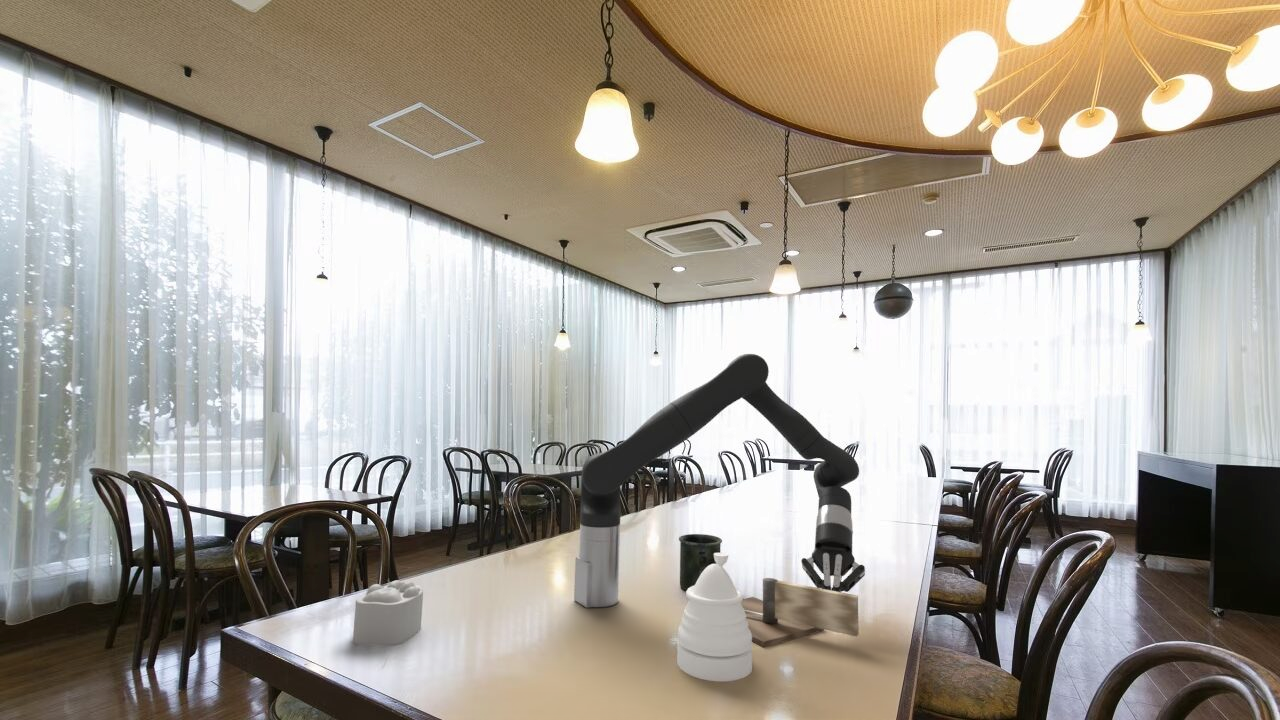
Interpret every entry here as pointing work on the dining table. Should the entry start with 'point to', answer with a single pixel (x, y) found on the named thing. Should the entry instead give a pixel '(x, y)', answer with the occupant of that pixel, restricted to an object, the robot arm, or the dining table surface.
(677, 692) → the dining table surface
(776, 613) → the plank on dark post
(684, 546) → the mug
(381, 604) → the lumpy-topped squat cylinder
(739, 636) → the honey pot
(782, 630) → the wooden sign stand
